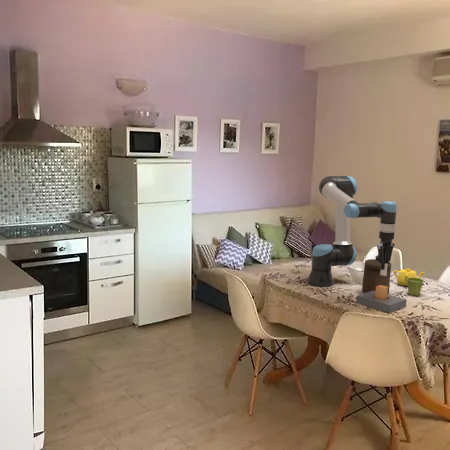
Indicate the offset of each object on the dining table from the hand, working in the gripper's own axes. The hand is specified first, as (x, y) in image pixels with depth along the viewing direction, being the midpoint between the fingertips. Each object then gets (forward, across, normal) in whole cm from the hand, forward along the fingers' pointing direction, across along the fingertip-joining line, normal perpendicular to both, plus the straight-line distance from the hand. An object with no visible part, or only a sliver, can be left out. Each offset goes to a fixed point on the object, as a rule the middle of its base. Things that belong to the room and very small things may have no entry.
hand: (383, 275), depth 273 cm
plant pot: (+17, +32, -1) cm, 36 cm away
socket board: (+16, 0, 0) cm, 16 cm away
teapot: (+17, +46, +11) cm, 50 cm away
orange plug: (+15, 0, 0) cm, 15 cm away
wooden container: (+17, +16, +14) cm, 27 cm away
